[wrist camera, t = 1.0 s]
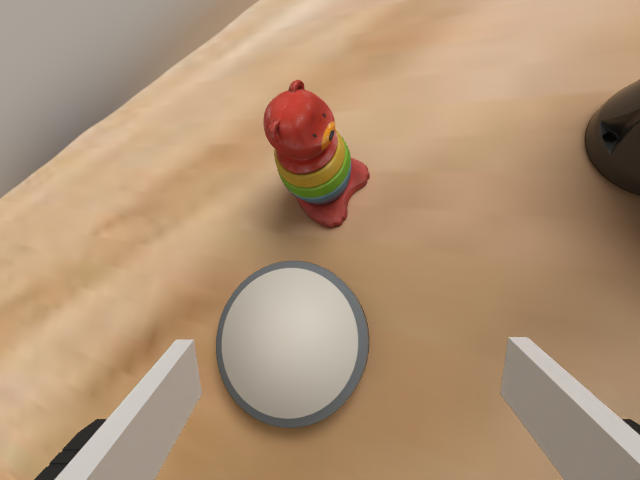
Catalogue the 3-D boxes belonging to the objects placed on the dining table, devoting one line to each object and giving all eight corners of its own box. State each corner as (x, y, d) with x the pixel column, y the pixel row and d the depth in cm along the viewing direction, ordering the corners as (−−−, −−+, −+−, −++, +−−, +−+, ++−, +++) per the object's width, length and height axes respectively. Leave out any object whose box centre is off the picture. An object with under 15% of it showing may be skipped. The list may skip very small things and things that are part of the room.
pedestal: (298, 239, 43) (289, 231, 40) (401, 337, 37) (403, 338, 33) (205, 336, 42) (187, 337, 39) (293, 456, 36) (282, 470, 32)
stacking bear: (337, 233, 42) (303, 171, 26) (281, 204, 46) (218, 132, 29) (374, 170, 44) (364, 73, 27) (317, 146, 47) (276, 46, 30)
